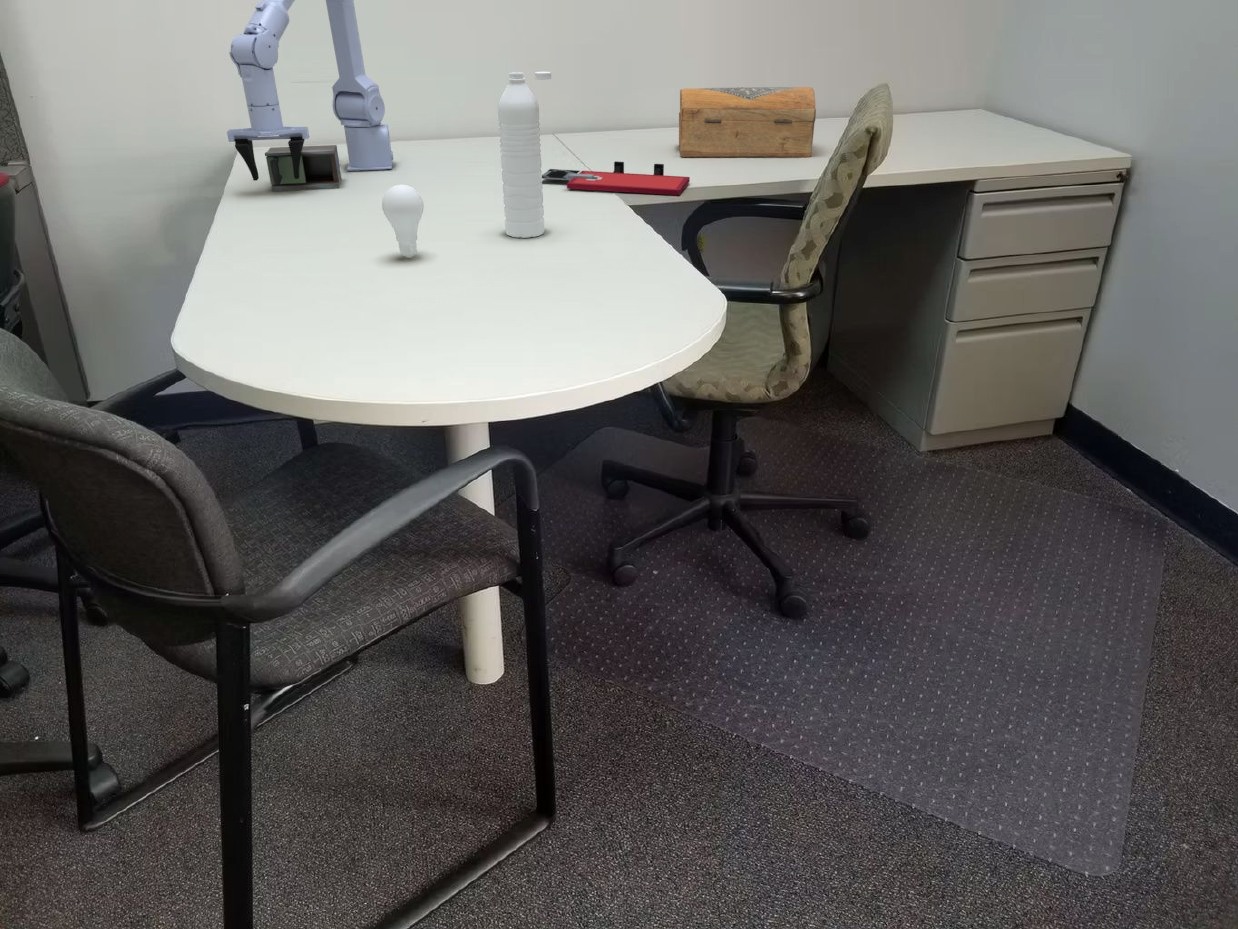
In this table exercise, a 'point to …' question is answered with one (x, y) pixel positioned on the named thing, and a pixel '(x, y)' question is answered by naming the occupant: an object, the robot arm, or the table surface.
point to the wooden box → (747, 122)
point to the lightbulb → (404, 216)
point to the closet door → (284, 170)
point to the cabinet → (313, 167)
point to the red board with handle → (622, 180)
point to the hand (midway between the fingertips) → (276, 178)
